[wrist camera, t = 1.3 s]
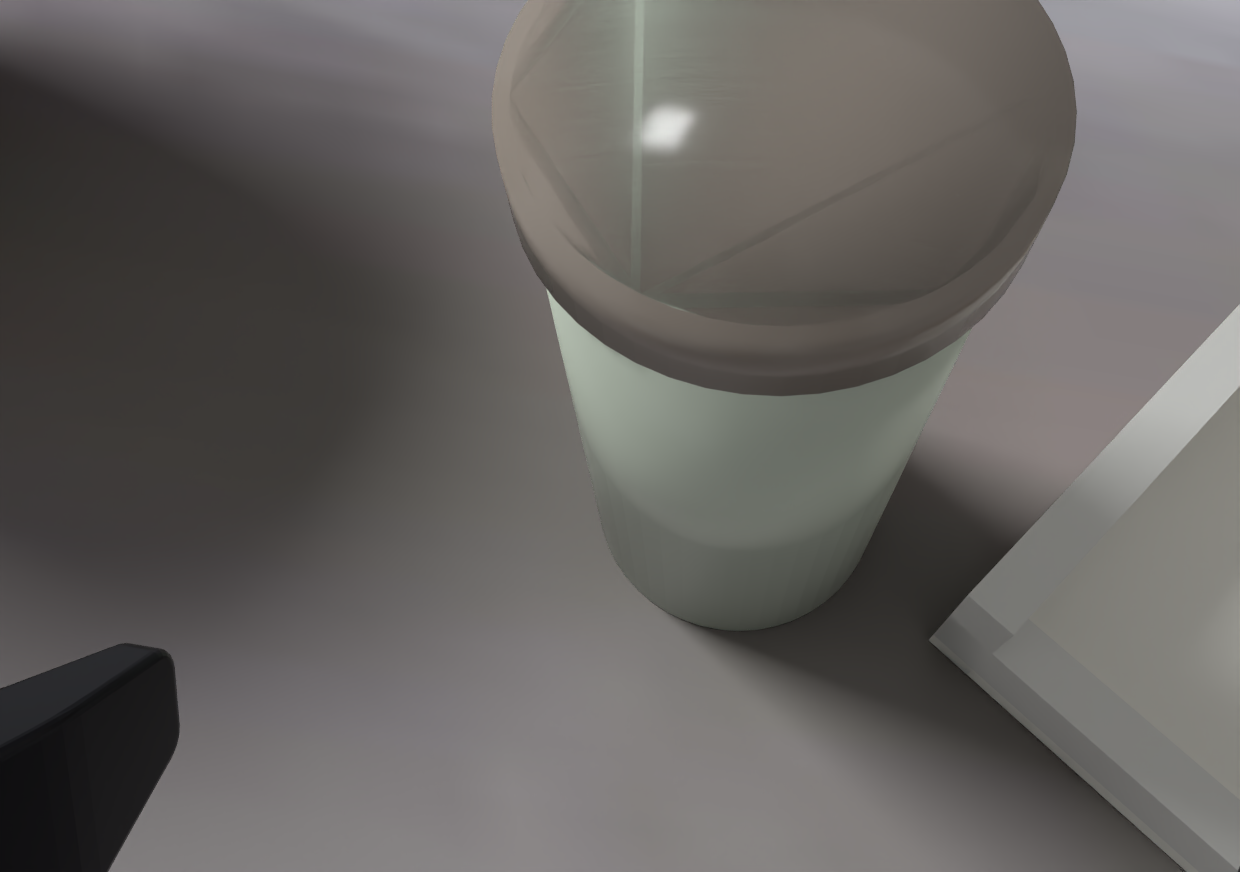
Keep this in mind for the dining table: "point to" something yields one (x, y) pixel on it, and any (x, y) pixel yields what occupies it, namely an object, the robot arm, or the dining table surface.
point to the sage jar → (770, 258)
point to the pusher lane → (1134, 617)
